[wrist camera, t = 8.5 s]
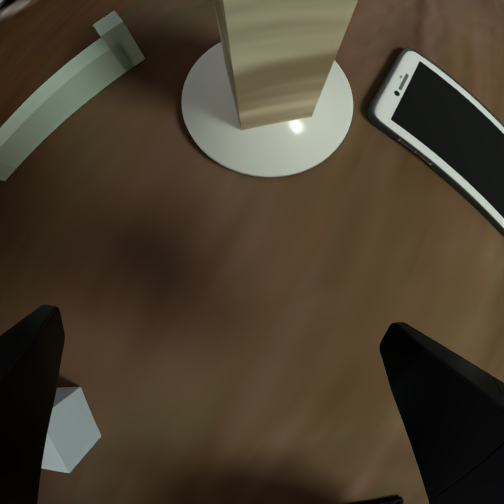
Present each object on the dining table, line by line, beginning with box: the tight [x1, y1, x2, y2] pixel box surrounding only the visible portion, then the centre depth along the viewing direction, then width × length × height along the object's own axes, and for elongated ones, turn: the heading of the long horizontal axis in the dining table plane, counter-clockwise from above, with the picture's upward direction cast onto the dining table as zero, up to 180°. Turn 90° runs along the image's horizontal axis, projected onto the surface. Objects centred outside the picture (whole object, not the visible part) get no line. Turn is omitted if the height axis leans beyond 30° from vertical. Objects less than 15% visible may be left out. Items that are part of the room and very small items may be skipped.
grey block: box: [41, 387, 101, 473], centre depth 15 cm, size 4×4×5 cm
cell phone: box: [367, 48, 504, 236], centre depth 17 cm, size 8×15×1 cm, turn 58°
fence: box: [0, 11, 145, 181], centre depth 15 cm, size 2×14×4 cm, turn 124°
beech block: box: [214, 0, 358, 130], centre depth 10 cm, size 4×4×13 cm
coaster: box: [181, 42, 353, 178], centre depth 17 cm, size 10×10×1 cm
